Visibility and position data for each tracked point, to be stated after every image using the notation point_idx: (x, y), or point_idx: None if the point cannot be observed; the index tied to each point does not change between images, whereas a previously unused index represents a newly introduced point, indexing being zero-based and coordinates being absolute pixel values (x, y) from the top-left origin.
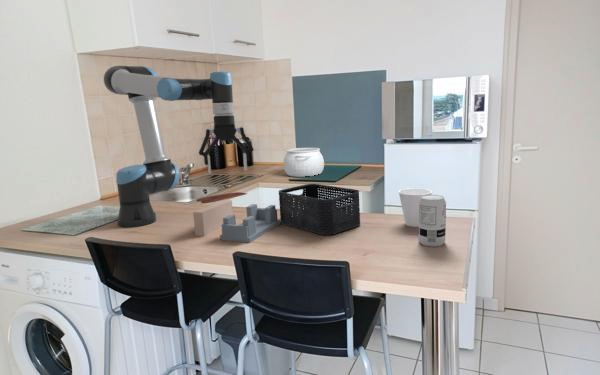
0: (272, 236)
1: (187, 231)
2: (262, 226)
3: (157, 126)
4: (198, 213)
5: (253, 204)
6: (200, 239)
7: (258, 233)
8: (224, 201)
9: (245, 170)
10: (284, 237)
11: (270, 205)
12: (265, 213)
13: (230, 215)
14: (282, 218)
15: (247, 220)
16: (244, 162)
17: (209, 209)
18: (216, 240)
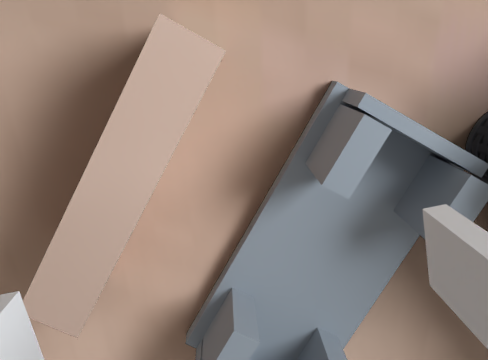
0: (397, 335)
1: (6, 182)
2: (373, 256)
3: None
4: (54, 324)
5: (369, 129)
6: (100, 313)
7: (347, 339)
8: (175, 77)
9: (433, 287)
10: (441, 355)
11: (467, 185)
12: (415, 230)
13: (235, 346)
14: (486, 179)
15: None
16: (479, 318)
17: (105, 277)
18: (172, 338)
